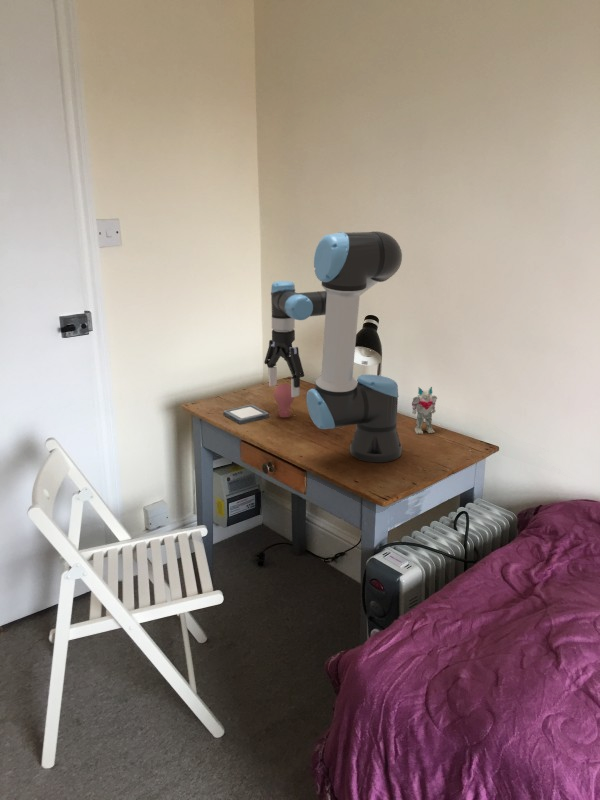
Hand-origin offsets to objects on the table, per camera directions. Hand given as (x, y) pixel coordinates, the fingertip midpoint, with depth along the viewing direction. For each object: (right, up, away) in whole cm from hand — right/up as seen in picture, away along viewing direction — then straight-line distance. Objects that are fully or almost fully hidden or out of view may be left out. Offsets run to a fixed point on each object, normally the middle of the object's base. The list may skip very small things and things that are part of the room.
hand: (283, 390), depth 220 cm
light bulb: (0, -9, +3) cm, 10 cm away
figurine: (+45, -13, -10) cm, 48 cm away
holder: (-13, -9, +4) cm, 16 cm away
